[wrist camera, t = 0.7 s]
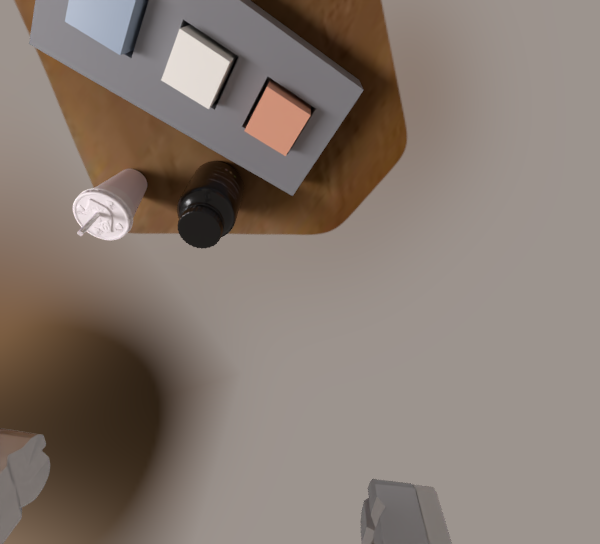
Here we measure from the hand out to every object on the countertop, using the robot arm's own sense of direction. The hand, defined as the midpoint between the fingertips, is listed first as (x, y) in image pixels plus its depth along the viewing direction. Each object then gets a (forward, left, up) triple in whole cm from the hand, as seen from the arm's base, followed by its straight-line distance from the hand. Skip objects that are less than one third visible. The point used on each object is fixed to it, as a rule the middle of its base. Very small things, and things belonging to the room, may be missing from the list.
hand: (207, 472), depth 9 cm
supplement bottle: (+15, -2, -43) cm, 45 cm away
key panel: (+2, -9, -43) cm, 44 cm away
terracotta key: (+2, 0, -40) cm, 40 cm away
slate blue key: (+2, -18, -40) cm, 44 cm away
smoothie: (+21, -12, -43) cm, 49 cm away
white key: (+2, -9, -40) cm, 41 cm away
